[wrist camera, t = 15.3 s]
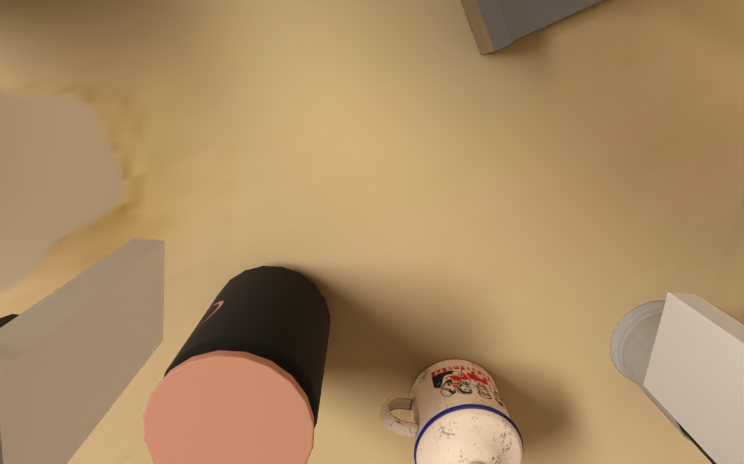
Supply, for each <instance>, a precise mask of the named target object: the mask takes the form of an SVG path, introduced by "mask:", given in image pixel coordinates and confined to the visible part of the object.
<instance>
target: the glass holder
mask: <svg viewBox="0 0 744 464" xmlns="http://www.w3.org/2000/svg"><path fill="white" fill-rule="evenodd" d="M664 305H665V301H654V302H649V303H646V304H643V305H641V306H639V307H636V308H635V309H633V310H632V311H630V312H629V313H628V314H627V315H626V316H624V317H623V318H622V320H621V321H620V322H619V323H618V325H617V327H616V328H615V330H614V332H613V335H612V338H611V344H610V354H611V358H612V361H613V363H614V365H615V367H616V368H617V370H618V371H619V372H620V373H621V374H622V375H623V376H624V377H626V378H628V379H629V380H631V381H634V382H635V383H636V384H637V385H638V386H639V387H640V388H641V389H642V390H643V391H644V393H645V394H646V395H647V396H648V397H649V398H650V399H651V400H652V401H653V402H654V404H655V405H656V406H657V407H658V408H659V409H660V410H661V411H662V412H663V413H664V415H665V416H666V417H667V418H668V419H669V420H670V421H671V422H672V423H673V424H674V426H675V427H676V428H677V429H678V430H679V431H680V432H681V433H682V434H683V435H684V436H685V437H686V438H687V439H689V440H691V441H692V442H693V443H694V444H695V445H696V446H697V447H698V448H699V449H700V451H701V452H702V453H703V454H704V455H705V456H706V457H707V458H708V459H709V460H710V461H711V463H712V464H716V463H715V462H714V460H713V459H712V458H711V457H710V456H709V455H708V454H707V453H706V452H705V451H704V450H703V449H702V448H701V446H700V445H699V444H698V443H697V442H696V441H695V440H694V439H693V438H692V437H691V436H690V435H689V434H688V432H687V431H686V430H685V429H684V428H683V427H682V426H681V425H680V424H679V423H678V422H677V421H676V420H675V418H674V417H673V416H672V415H671V414H670V413H669V412H668V411H667V410H666V409H665V408H664V407H663V406H662V404H661V403H660V402H659V401H658V400H657V399H656V398H655V397H654V396H653V395H652V394H651V393H650V392H649V390H648V389H647V388H646V387H645V386H644V385H643V384H644V380H645V376H646V373H647V369H648V365H649V361H650V358H651V354H652V350H653V346H654V343H655V339H656V335H657V331H658V328H659V324H660V320H661V316H662V313H663V309H664Z"/></svg>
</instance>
